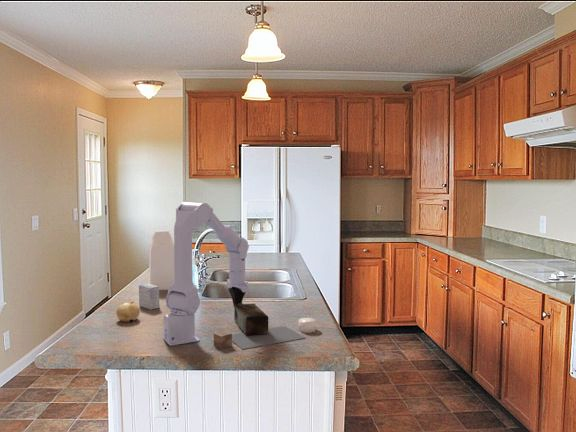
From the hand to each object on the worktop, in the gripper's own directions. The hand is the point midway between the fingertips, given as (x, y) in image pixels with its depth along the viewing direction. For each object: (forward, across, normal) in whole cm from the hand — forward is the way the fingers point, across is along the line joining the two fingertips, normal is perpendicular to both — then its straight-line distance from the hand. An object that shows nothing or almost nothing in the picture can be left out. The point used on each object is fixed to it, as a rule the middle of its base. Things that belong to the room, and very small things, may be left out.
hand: (237, 307), depth 184 cm
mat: (+4, -22, 0) cm, 23 cm away
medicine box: (+5, +32, +24) cm, 40 cm away
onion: (+5, +18, +35) cm, 39 cm away
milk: (+5, +64, +10) cm, 65 cm away
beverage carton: (+4, -11, 0) cm, 12 cm away
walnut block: (+4, -23, +15) cm, 28 cm away
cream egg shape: (+4, -22, -16) cm, 28 cm away
